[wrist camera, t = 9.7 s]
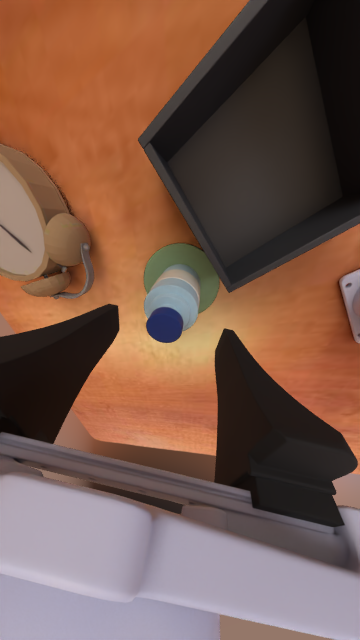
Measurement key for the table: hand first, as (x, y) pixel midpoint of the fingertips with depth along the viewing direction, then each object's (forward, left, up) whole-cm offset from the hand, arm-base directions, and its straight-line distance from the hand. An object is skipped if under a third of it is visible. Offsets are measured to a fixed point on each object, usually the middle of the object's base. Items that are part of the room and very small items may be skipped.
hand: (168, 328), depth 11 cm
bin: (+4, -10, -9) cm, 14 cm away
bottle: (0, +1, -9) cm, 9 cm away
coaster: (0, +1, -9) cm, 9 cm away
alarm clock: (+13, +10, -10) cm, 19 cm away
